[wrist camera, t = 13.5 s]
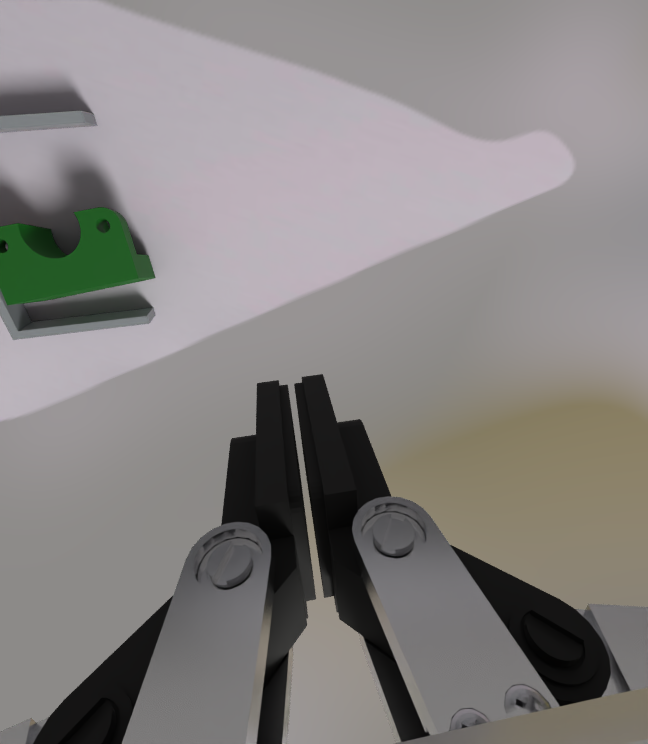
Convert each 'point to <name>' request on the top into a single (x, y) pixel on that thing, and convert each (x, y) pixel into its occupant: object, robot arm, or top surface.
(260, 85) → the top surface
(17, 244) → the clamp
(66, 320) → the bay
